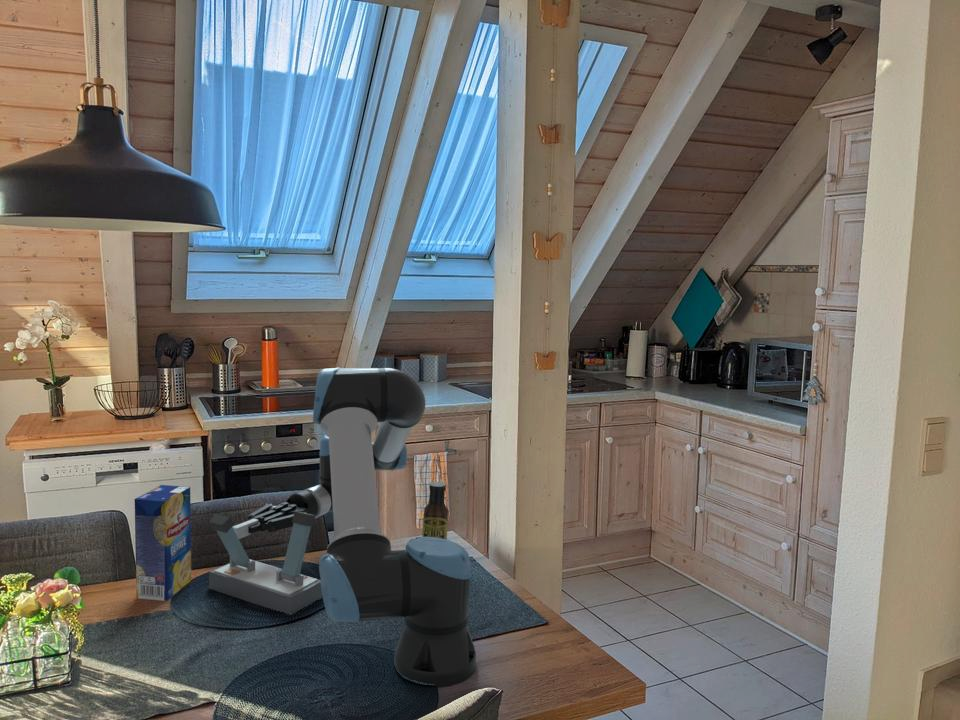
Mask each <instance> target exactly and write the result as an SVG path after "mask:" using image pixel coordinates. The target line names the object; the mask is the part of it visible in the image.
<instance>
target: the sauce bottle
mask: <svg viewBox="0 0 960 720" xmlns="http://www.w3.org/2000/svg"><path fill="white" fill-rule="evenodd" d="M428 488H429V489H428V490H429V499H428V503H427V505H426V506H425V508H424V510H423V518H422V532H421V533H422V534H421V537H436V538H442V539H446V540H448V525H449V510H448V507H447V505H446V504H445V501H446V500H445V495H446V493H445V492H446V490H447V485H446V483H444V482H442V481H434V482H430V483H429V487H428Z"/></svg>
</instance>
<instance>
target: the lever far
mask: <svg viewBox="0 0 960 720" xmlns="http://www.w3.org/2000/svg"><path fill="white" fill-rule="evenodd" d="M208 523H209V525H210V527H211V528H212V530H213V531H216V533H217V534H218V537H219V538H220V540H221V542H222V544H223V546H224V548H225V549H226V551H227V554H228V555H229V558H230V557H231V559H232V560H233V562H234V564H235V565H239V566H242V567H245V568H247V563H248V562H250V560H249V559H250V558H249V556H248V554H247V552H246V550H245V548H244V546H243V544H242V543H241V541H240V539H238V537H237V535H236V533H235V531H234V529H233V526H234V523H233V521H232V519H231V517H229V516H227V515H223V514H219V513H215V514H214V516H212V518H210V520H209V521H208Z"/></svg>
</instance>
